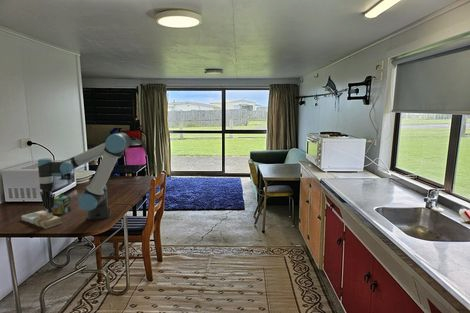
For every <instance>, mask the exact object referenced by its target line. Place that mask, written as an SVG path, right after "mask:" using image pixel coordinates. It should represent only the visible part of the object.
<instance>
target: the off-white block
mask: <svg viewBox="0 0 470 313" xmlns="http://www.w3.org/2000/svg"><path fill="white" fill-rule="evenodd" d="M34 212H35V217H38V218H40V214H41V213H45V212H46V210H39V211H34Z"/></svg>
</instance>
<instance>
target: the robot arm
mask: <svg viewBox="0 0 470 313" xmlns="http://www.w3.org/2000/svg"><path fill="white" fill-rule="evenodd" d="M131 141H132V140H131V138H130V136H129V135H128V134H127V133H125V132H117V133H112V134H110V135H109V136H107V138H106V139H105V141H104V143H101V144H99V145H97V146H95V147H93V148H90V149H88V150H86V151H83V152H81V153H79V154H76V155H75V156H72V157H69V158H67V159H64V160H61V161H52V158H48V157H47V158H40V159H38V160H37V169H38V170H37V171H38V182H39V189H40V190H42V191H39V194H40V199H41V202H42V206H43V207H44V208H45V211H46V216H47V218H51V217H52V207H54V198H55V197H56V194H55V193H53V190H52V189H54V188H55V186H54V174H65V175H66V174H71V173H72V172H73V170H75V169H77V168H79V167H81V166H84V165H85V164H88V163H90V162H92V161H95V160H96V159H99V158H101V157H102V158H101V160H100V163H99V165H98V166H97V169H96V171H95V173H94V175H93V178H92V180H91V181H90V183H89V185H87V186H85V188H84V191H83V193H82V194H81V195H80V196H79V197H78V199H77V203H78V206H79V208H81V209H82V210H84V211H85V212H86V211H88V212H87V215H86V216H87V219H88V220H89V221H101V220H105V219H109V218H110V217H111V216H112V212H111V209H110V207H109V203H108V188H107V185H106V184H107V182H108V180H109V179H110V176H111V175H112V174H111V173H112V172H113V170H114V167H115V166H116V163H117V162H118V159H120V158H122V157H123V155H124V153H125V150H127V149H128V148H129V147H131V146H130V145H131Z"/></svg>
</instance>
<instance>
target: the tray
mask: <svg viewBox="0 0 470 313" xmlns="http://www.w3.org/2000/svg"><path fill="white" fill-rule="evenodd" d="M35 212H36V211H34V212H30V213H27V214H23V215H21V221H24V222H26V223H28V222H29V224H31V225H34V218H38V217H35Z"/></svg>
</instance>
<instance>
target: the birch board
mask: <svg viewBox="0 0 470 313" xmlns="http://www.w3.org/2000/svg"><path fill="white" fill-rule="evenodd" d="M62 221H63V220H62V217H60V216H57V215H55V214H53V218H50V219H47V220H43V219H40V218H34V224H33V225H34V226H37V227H40V228H43V229H46V230H47V229H50V228H52V227H55V226H59V225H62V224H63V222H62Z"/></svg>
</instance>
